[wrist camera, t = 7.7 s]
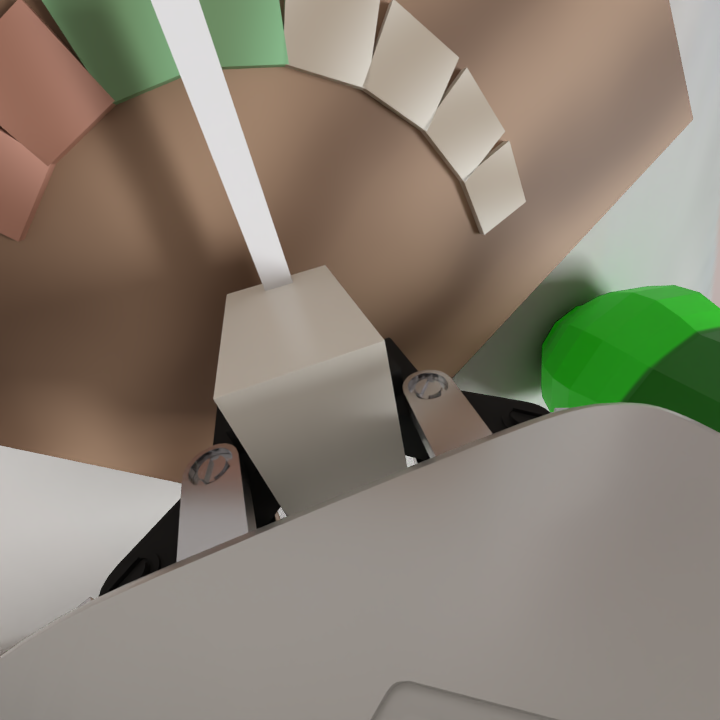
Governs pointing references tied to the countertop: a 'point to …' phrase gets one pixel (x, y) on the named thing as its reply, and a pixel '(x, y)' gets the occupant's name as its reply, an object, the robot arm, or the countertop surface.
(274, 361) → the white piece
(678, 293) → the plastic bottle
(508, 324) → the countertop surface
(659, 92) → the tuner board
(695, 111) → the countertop surface
